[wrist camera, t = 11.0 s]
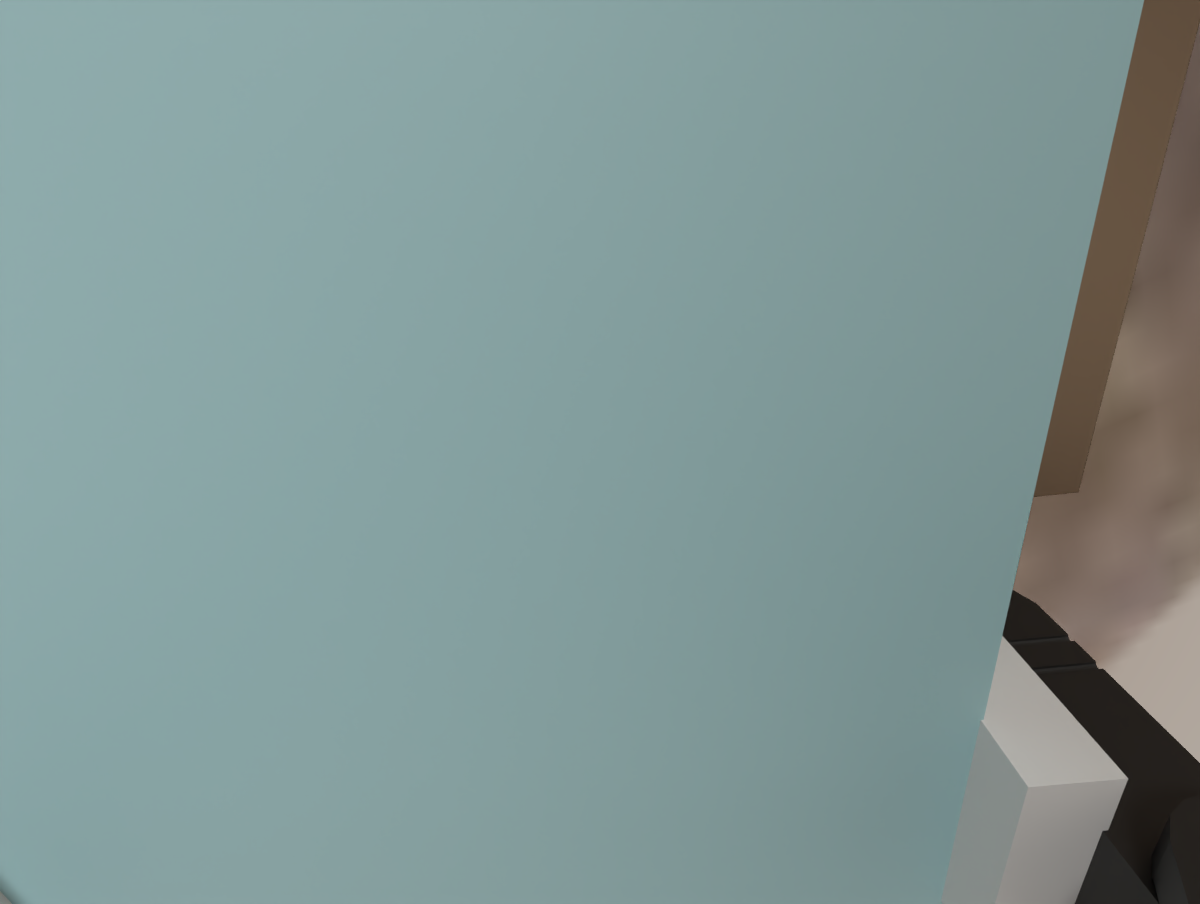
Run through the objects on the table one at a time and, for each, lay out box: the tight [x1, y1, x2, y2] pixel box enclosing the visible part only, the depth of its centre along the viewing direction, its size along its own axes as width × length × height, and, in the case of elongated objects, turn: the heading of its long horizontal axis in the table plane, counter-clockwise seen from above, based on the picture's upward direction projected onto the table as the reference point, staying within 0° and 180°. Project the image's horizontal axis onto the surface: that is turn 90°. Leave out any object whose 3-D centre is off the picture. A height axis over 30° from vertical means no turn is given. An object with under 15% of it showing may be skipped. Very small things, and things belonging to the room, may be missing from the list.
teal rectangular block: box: [0, 0, 1144, 904], centre depth 5 cm, size 14×10×3 cm
